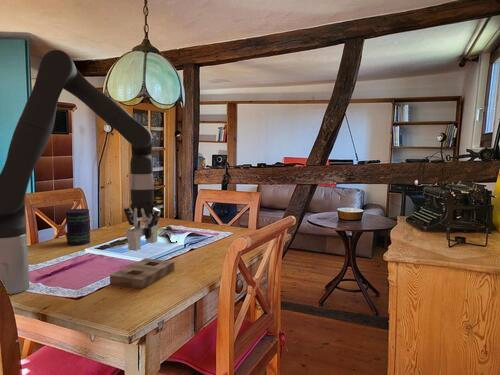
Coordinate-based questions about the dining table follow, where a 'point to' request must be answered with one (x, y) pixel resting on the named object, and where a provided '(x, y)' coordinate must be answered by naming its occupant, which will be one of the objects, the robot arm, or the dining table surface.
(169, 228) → the hand tool
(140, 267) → the brown block with holes
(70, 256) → the dining table surface
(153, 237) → the grey arch block
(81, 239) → the storage jar
